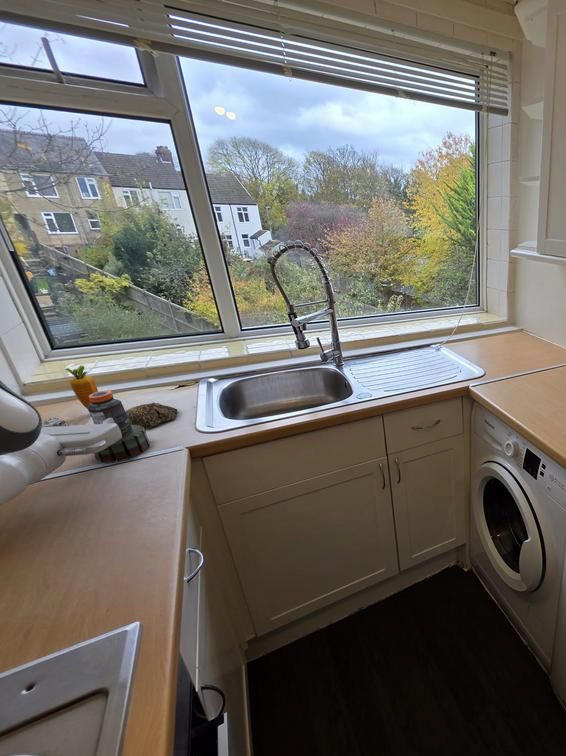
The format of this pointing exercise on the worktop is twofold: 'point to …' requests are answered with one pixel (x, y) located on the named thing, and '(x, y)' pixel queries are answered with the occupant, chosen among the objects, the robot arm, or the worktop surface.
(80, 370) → the carrot
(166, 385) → the worktop surface
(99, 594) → the worktop surface
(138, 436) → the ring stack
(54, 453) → the robot arm
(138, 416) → the bread roll
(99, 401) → the pill bottle
